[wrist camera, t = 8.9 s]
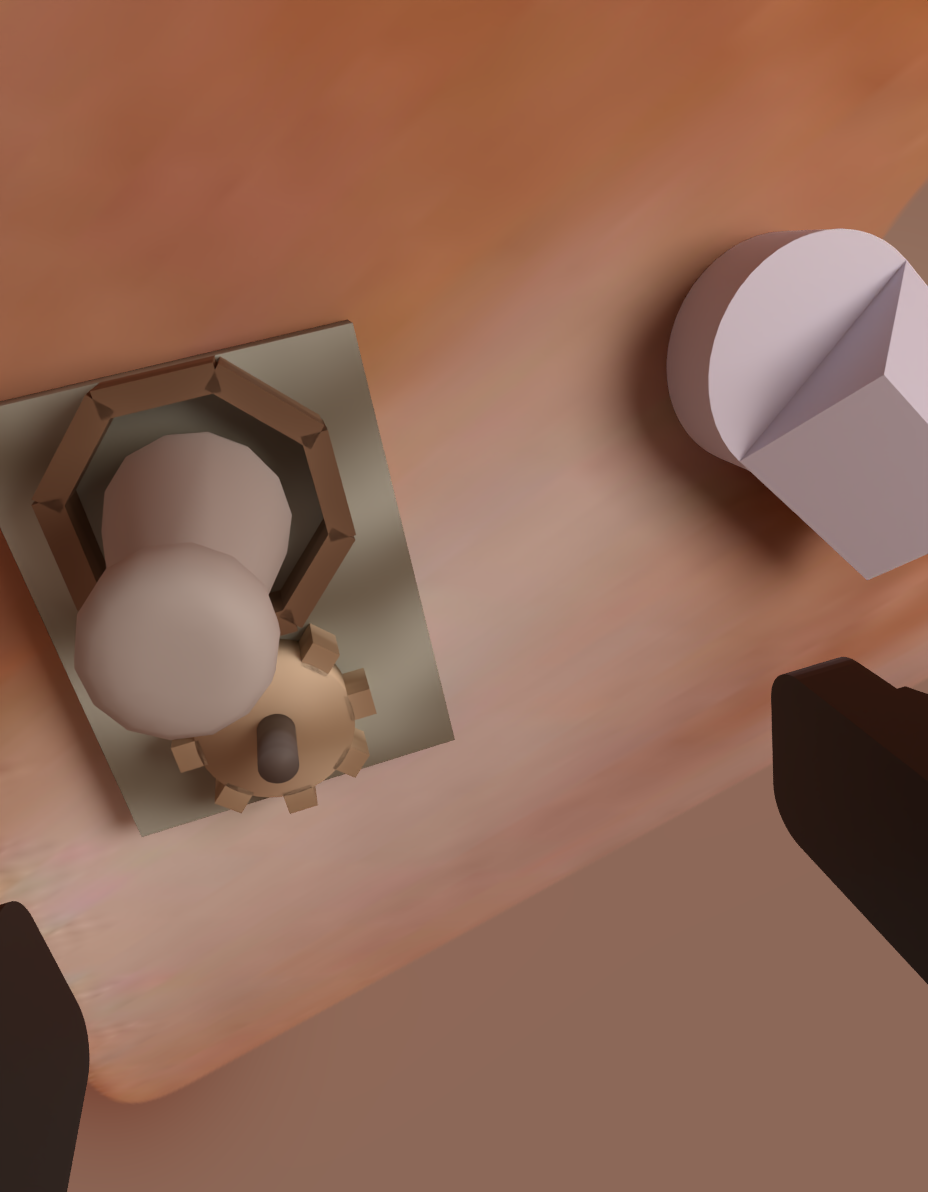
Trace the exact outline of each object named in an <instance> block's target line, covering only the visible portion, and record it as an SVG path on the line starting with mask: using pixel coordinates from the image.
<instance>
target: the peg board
mask: <svg viewBox="0 0 928 1192" xmlns="http://www.w3.org/2000/svg"><path fill="white" fill-rule="evenodd" d="M197 432H211V433H213V434H216V435H218V436H221V437H224V438H226V439H229V440H232V441H234V442H237V443H240V444H242V445H245V446H248V447H249V448H250V449H251V450H252V451H253V452H254V453H255V454H256V455H257V456H258V457H259V458H260V459H261V460H262V461H263V462H264V463H265V464H266V465H267V466H268V467H269V468H270V469H271V470H272V471H273V472H274V473H275V474H276V475H277V476H278V477H279V480H280V482H281V485H282V488H283V491H284V494H285V497H286V500H287V502H288V505H289V508H290V511H291V514H292V518H291V526H290V534H289V541H288V549H287V554H286V556H285V559H284V561H283V563H282V565H281V568H280V570H279V572H278V575H277V577H276V579H275V581H274V584H273V586H272V588H271V590H270V593H269V598H270V600H271V603H272V606H273V609H274V611H275V614H276V617H277V619H278V623H279V628H280V638H279V647H278V655H277V663H276V671H275V674H274V677H273V680H272V682H271V684H270V685H269V686H268V688H267V689H266V690H265V692H264V693H263V695H262V696H261V697H260V699H259V700H258V701H257V703H256V704H255V706H254V707H253V708H252V710H251V711H250V712H249V714H247V715H245V716H244V717H242V718H240V719H239V720H237V721H235V722H234V723H232V724H230V725H229V726H227V727H225V728H223V729H222V730H220V731H218V732H217V733H215V734H213V735H206V736H198V737H191V738H183V739H175V740H168V739H163V738H159V737H154V736H150V735H146V734H141V733H137V732H133V731H128V730H126V729H125V728H124V727H122V726H121V725H120V724H118V723H117V722H116V721H114V720H113V719H112V718H111V717H109V716H108V715H107V714H105V713H104V712H103V711H101V710H100V709H99V708H97V707H96V706H95V705H93V703H92V701H91V699H90V697H89V695H88V693H87V691H86V689H85V688H84V686H83V684H82V682H81V680H80V678H79V676H78V674H77V673H76V671H75V669H74V653H75V637H76V621H77V614H78V612H79V610H80V609H81V607H82V606H83V604H84V602H85V601H86V599H87V598H88V596H89V594H90V593H91V591H92V590H93V588H94V587H95V585H96V583H97V582H98V580H99V579H100V577H101V576H102V574H103V573H104V571H105V570H106V562H105V555H104V548H103V540H102V533H101V530H102V518H103V505H104V493H105V490H106V488H107V487H108V485H109V484H110V482H111V480H112V479H113V477H114V475H115V474H116V472H117V470H118V469H119V467H120V465H121V464H122V462H123V460H124V459H125V457H126V456H128V455H130V454H132V453H134V452H135V451H137V450H139V449H141V448H143V447H144V446H146V445H148V444H150V443H152V442H153V441H155V440H157V439H159V438H161V437H163V436H165V435H170V434H184V433H197ZM0 528H1V530H2V532H3V535H4V537H5V539H6V541H7V543H8V546H9V548H10V550H11V552H12V554H13V557H14V559H15V561H16V563H17V565H18V567H19V570H20V572H21V574H22V576H23V578H24V581H25V583H26V585H27V587H28V589H29V591H30V594H31V596H32V598H33V600H34V602H35V605H36V607H37V609H38V611H39V613H40V616H41V618H42V620H43V622H44V624H45V626H46V629H47V631H48V633H49V635H50V637H51V640H52V642H53V644H54V646H55V648H56V650H57V653H58V655H59V657H60V659H61V661H62V664H63V666H64V668H65V670H66V672H67V675H68V677H69V679H70V681H71V683H72V685H73V688H74V690H75V692H76V694H77V696H78V699H79V701H80V703H81V705H82V707H83V710H84V712H85V714H86V716H87V718H88V720H89V723H90V725H91V727H92V729H93V731H94V734H95V736H96V738H97V740H98V742H99V744H100V747H101V749H102V751H103V753H104V755H105V758H106V760H107V762H108V764H109V766H110V769H111V771H112V773H113V775H114V777H115V779H116V782H117V784H118V786H119V788H120V790H121V793H122V795H123V797H124V799H125V801H126V803H127V806H128V808H129V810H130V812H131V814H132V817H133V819H134V821H135V823H136V825H137V828H138V830H139V832H140V834H141V836H142V837H144V836H147V835H150V834H153V833H157V832H160V831H163V830H166V829H169V828H173V827H176V826H179V825H182V824H186V823H189V822H192V821H195V820H198V819H202V818H205V817H208V816H211V815H214V814H218V813H221V812H224V811H227V810H234V811H237V812H240V813H242V811H243V810H244V808H245V807H246V805H247V804H250V803H253V802H256V801H259V800H263V799H266V798H269V797H282V796H284V799H285V802H286V805H287V807H288V810H289V813H290V814H291V813H294V812H297V811H301V810H304V809H307V808H310V807H313V806H316V805H318V804H317V796H316V788H315V786H316V785H317V784H319V783H320V782H322V781H324V780H327V779H330V778H333V777H337V776H340V775H343V774H348V775H350V776H352V777H356V776H357V774H358V773H359V771H360V770H361V769H362V768H365V767H369V766H372V765H375V764H378V763H382V762H385V761H388V760H391V759H394V758H398V757H401V756H404V755H407V754H410V753H414V752H417V751H420V750H423V749H427V748H430V747H433V746H436V745H439V744H443V743H446V742H449V741H452V740H455V739H454V735H453V731H452V726H451V722H450V718H449V714H448V710H447V706H446V702H445V698H444V694H443V690H442V686H441V682H440V677H439V673H438V669H437V665H436V661H435V657H434V653H433V649H432V645H431V641H430V637H429V633H428V629H427V624H426V620H425V616H424V612H423V608H422V604H421V600H420V596H419V592H418V588H417V584H416V580H415V575H414V571H413V567H412V563H411V559H410V555H409V551H408V547H407V543H406V539H405V535H404V531H403V527H402V522H401V518H400V514H399V510H398V506H397V502H396V498H395V494H394V490H393V486H392V482H391V478H390V474H389V469H388V465H387V461H386V457H385V453H384V449H383V445H382V441H381V437H380V433H379V429H378V425H377V420H376V416H375V412H374V408H373V404H372V400H371V396H370V392H369V388H368V384H367V380H366V376H365V372H364V367H363V363H362V359H361V355H360V351H359V347H358V343H357V339H356V335H355V331H354V327H353V323H352V322H350V321H349V320H344V321H340V322H336V323H332V324H327V325H323V326H319V327H315V328H310V329H306V330H302V331H298V332H293V333H289V334H285V335H281V336H276V337H272V338H268V339H264V340H259V341H255V342H251V343H247V344H242V345H238V346H234V347H230V348H225V349H221V350H217V351H213V352H208V353H204V354H200V355H196V356H191V357H187V358H183V359H179V360H174V361H170V362H166V363H162V364H157V365H153V366H149V367H145V368H140V369H136V370H132V371H128V372H123V373H119V374H115V375H111V376H106V377H102V378H98V379H94V380H89V381H85V382H81V383H77V384H72V385H68V386H64V387H60V388H55V389H51V390H47V391H43V392H38V393H34V394H30V395H26V396H21V397H17V398H13V399H9V400H4V401H0Z"/></svg>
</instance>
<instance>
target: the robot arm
mask: <svg viewBox="0 0 928 1192" xmlns="http://www.w3.org/2000/svg"><path fill="white" fill-rule="evenodd" d="M771 708H772V747H773V785H774V794H775V799H776V803H777V806H778V809H779V812H780V815H781V817H782V820H783V822H784V824H785V826H786V828H787V829H788V831H789V833H790V834H791V836H792V837H793V838H794V840H795V841H796V843H797V844H798V845H799V846H800V847H801V848H802V849H803V850H804V851H805V853H807V854H808V856H809V857H810V858H811V859H812V860H813V861H814V862H815V863H816V864H817V865H818V867H820V869H821V870H822V871H823V872H824V873H825V874H826V875H827V876H828V877H829V878H830V879H831V881H832V882H833V883H834V884H835V885H836V886H837V887H838V888H839V889H840V890H841V891H842V892H843V893H844V895H845V896H846V897H847V898H848V899H849V900H850V901H851V902H852V903H853V904H854V905H855V906H856V907H857V909H858V910H859V911H860V912H862V914H863V915H864V916H865V917H866V918H867V919H868V920H869V922H870V923H871V924H872V925H873V926H874V927H875V928H876V929H877V930H878V931H879V932H880V933H881V934H882V935H883V936H884V937H885V939H886V940H887V941H888V942H889V943H890V944H891V945H892V946H893V947H894V948H895V950H896V951H897V952H898V953H899V954H900V955H901V956H902V957H903V958H904V959H905V960H906V961H907V962H908V964H910V966H911V967H912V968H913V969H914V970H915V971H916V972H917V973H918V974H919V975H920V976H921V978H923V980H924V981H925V982H926V983H927V984H928V694H926V693H923V692H920V691H917V690H914V689H911V688H908V687H902V688H898V689H896V688H895V687H893V686H892V685H891V684H889V683H888V682H886V681H885V680H883V679H882V678H880V677H879V676H877V675H876V674H874V673H873V672H871V671H870V670H868V669H867V668H865V667H864V666H862V665H861V664H859V663H858V662H856V661H855V660H853V659H850V658H847V657H840V658H836V659H833V660H829V661H826V662H823V663H819V664H816V665H812V666H809V667H806V668H802V669H799V670H796V671H792V672H789V673H786V674H782V675H780V676H778V677H777V678H776V679H775V681H774V683H773V686H772V691H771ZM88 1073H89V1043H88V1035H87V1030H86V1025H85V1021H84V1018H83V1015H82V1012H81V1009H80V1007H79V1005H78V1003H77V1001H76V999H75V997H74V995H73V993H72V992H71V990H70V988H69V986H68V984H67V982H66V980H65V978H64V976H63V975H62V973H61V971H60V969H59V967H58V965H57V963H56V961H55V959H54V957H53V956H52V954H51V952H50V950H49V948H48V946H47V944H46V942H45V940H44V939H43V937H42V935H41V933H40V931H39V929H38V927H37V925H36V923H35V922H34V920H33V918H32V916H31V914H30V913H29V911H28V910H27V909H26V908H25V907H24V906H23V905H22V904H21V903H19V902H16V901H11V902H8V903H5V904H1V905H0V1192H67V1188H68V1183H69V1177H70V1172H71V1166H72V1161H73V1156H74V1150H75V1144H76V1139H77V1134H78V1129H79V1123H80V1118H81V1112H82V1107H83V1101H84V1096H85V1091H86V1085H87V1080H88Z"/></svg>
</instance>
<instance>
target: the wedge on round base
mask: <svg viewBox="0 0 928 1192" xmlns="http://www.w3.org/2000/svg"><path fill="white" fill-rule="evenodd" d="M667 383H668V389H669V395H670V399H671V402H672V405H673V408H674V411H675V413H676V415H677V417H678V419H679V421H680V423H681V425H682V426H683V428H684V429H685V431H686V432H687V434H688V435H689V436H690V437H691V438H692V439H693V440H694V441H695V442H696V443H697V444H698V445H699V446H700V447H702V448H703V449H704V450H706V451H707V452H709V453H711V454H712V455H714V456H716V457H718V458H720V459H723V460H725V461H727V462H730V463H732V464H734V465H737V466H739V467H741V468H744V469H746V470H748V471H750V472H751V473H752V474H754V475H755V476H756V477H757V478H758V479H759V480H760V481H761V482H762V483H763V484H764V485H765V486H766V487H768V488H769V489H770V490H771V491H772V492H773V493H774V494H775V495H776V496H777V497H778V498H779V499H780V500H782V501H783V502H784V503H785V504H786V505H787V506H788V507H789V508H790V509H791V510H792V511H793V512H794V513H795V514H797V515H798V516H799V517H800V518H801V519H802V520H803V521H804V522H805V523H806V524H807V525H808V526H809V527H811V528H812V529H813V530H814V531H815V532H816V533H817V534H818V535H819V536H820V537H821V538H822V539H823V540H825V541H826V542H827V543H828V544H829V545H830V546H831V547H832V548H833V549H834V550H835V551H836V552H837V553H838V554H840V555H841V556H842V557H843V558H844V559H845V560H846V561H847V562H848V563H849V564H850V565H851V566H852V567H854V568H855V569H856V570H857V571H858V572H859V573H860V574H861V575H862V576H863V577H864V578H865V579H866V580H869V579H871V578H874V577H876V576H878V575H881V574H883V573H885V572H887V571H890V570H892V569H894V568H896V567H899V566H901V565H903V564H906V563H908V562H910V561H912V560H915V559H917V558H919V557H922V556H924V555H926V554H928V286H927V285H926V284H925V282H924V281H923V280H922V279H921V277H920V276H919V275H918V274H917V272H916V271H915V270H914V269H913V267H912V266H911V265H910V264H909V262H908V261H907V260H906V259H905V258H904V257H903V256H902V255H901V254H900V253H899V252H898V250H896V249H895V248H894V247H892V246H891V245H890V244H889V243H887V242H886V241H884V240H882V239H880V238H878V237H876V236H874V235H872V234H869V233H866V232H862V231H858V230H850V229H823V230H801V231H782V232H771V233H766V234H762V235H758V236H755V237H753V238H750V239H748V240H745V241H743V242H741V243H739V244H738V245H736V246H734V247H732V248H731V249H729V250H728V251H726V252H725V253H724V254H722V255H721V256H720V257H719V258H717V259H716V260H715V261H714V262H713V263H712V264H711V265H710V266H709V267H708V268H707V269H706V270H705V271H704V272H703V273H702V274H701V276H700V277H699V278H698V280H697V281H696V282H695V283H694V285H693V286H692V288H691V289H690V291H689V293H688V294H687V296H686V297H685V299H684V301H683V303H682V305H681V307H680V310H679V312H678V314H677V316H676V319H675V322H674V325H673V328H672V331H671V336H670V341H669V345H668V353H667Z"/></svg>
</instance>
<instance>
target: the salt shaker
mask: <svg viewBox="0 0 928 1192" xmlns="http://www.w3.org/2000/svg"><path fill="white" fill-rule="evenodd" d="M291 518H292V514H291V511H290V508H289V505H288V502H287V500H286V497H285V494H284V491H283V488H282V485H281V482H280V480H279V477H278V476H277V475H276V474H275V473H274V472H273V471H272V470H271V469H270V468H269V467H268V466H267V465H266V464H265V463H264V462H263V461H262V460H261V459H260V458H259V457H258V456H257V455H256V454H255V453H254V452H253V451H252V450H251V449H250V448H249V447H248V446H245V445H242V444H240V443H237V442H234V441H232V440H229V439H226V438H224V437H221V436H218V435H216V434H213V433H211V432H197V433H184V434H170V435H165V436H163V437H161V438H159V439H157V440H155V441H153V442H152V443H150V444H148V445H146V446H144V447H143V448H141V449H139V450H137V451H135V452H134V453H132V454H130V455H128V456H126V457H125V459H124V460H123V462H122V464H121V465H120V467H119V469H118V470H117V472H116V474H115V475H114V477H113V479H112V480H111V482H110V484H109V485H108V487H107V488H106V490H105V493H104V505H103V518H102V530H101V533H102V540H103V548H104V555H105V562H106V570H105V571H104V573H103V574H102V576H101V577H100V579H99V580H98V582H97V583H96V585H95V587H94V588H93V590H92V591H91V593H90V594H89V596H88V598H87V599H86V601H85V602H84V604H83V606H82V607H81V609H80V610H79V612H78V614H77V621H76V637H75V653H74V669H75V671H76V673H77V674H78V676H79V678H80V680H81V682H82V684H83V686H84V688H85V689H86V691H87V693H88V695H89V697H90V699H91V701H92V703H93V705H95V706H96V707H97V708H99V709H100V710H101V711H103V712H104V713H105V714H107V715H108V716H109V717H111V718H112V719H113V720H114V721H116V722H117V723H118V724H120V725H121V726H122V727H124V728H125V729H126V730H128V731H133V732H137V733H141V734H146V735H150V736H154V737H159V738H163V739H168V740H175V739H183V738H191V737H198V736H206V735H213V734H215V733H217V732H218V731H220V730H222V729H223V728H225V727H227V726H229V725H230V724H232V723H234V722H235V721H237V720H239V719H240V718H242V717H244V716H245V715H247V714H249V712H250V711H251V710H252V708H253V707H254V706H255V704H256V703H257V701H258V700H259V699H260V697H261V696H262V695H263V693H264V692H265V690H266V689H267V688H268V686H269V685H270V684H271V682H272V680H273V677H274V674H275V671H276V663H277V655H278V647H279V638H280V628H279V623H278V619H277V617H276V614H275V611H274V609H273V606H272V603H271V600H270V598H269V593H270V590H271V588H272V586H273V584H274V581H275V579H276V577H277V575H278V572H279V570H280V568H281V565H282V563H283V561H284V559H285V556H286V554H287V549H288V541H289V534H290V526H291Z"/></svg>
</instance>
